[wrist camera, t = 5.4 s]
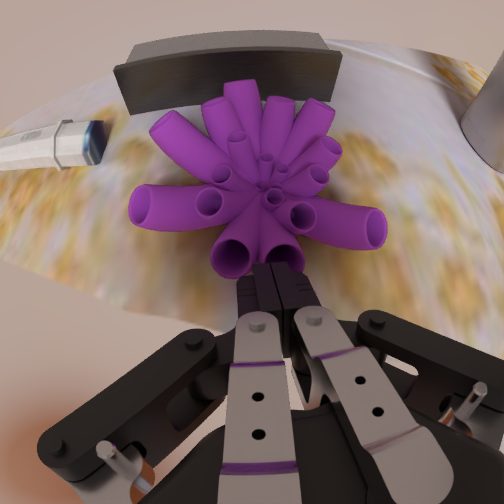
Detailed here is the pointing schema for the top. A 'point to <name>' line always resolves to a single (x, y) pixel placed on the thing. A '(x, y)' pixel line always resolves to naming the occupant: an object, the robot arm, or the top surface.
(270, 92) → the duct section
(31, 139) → the white handheld device
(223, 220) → the purple tube coral
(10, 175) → the top surface
